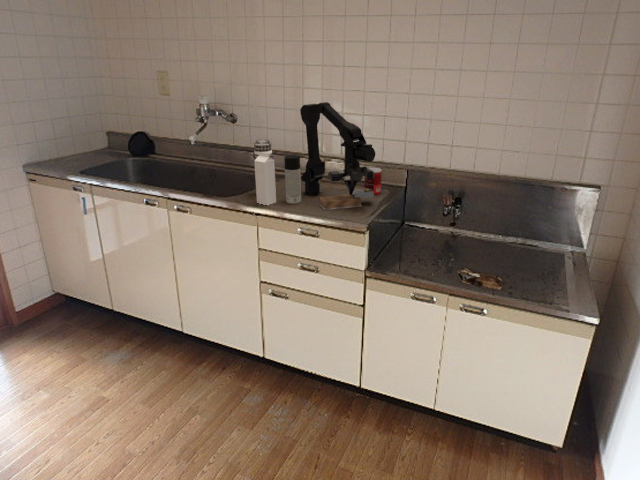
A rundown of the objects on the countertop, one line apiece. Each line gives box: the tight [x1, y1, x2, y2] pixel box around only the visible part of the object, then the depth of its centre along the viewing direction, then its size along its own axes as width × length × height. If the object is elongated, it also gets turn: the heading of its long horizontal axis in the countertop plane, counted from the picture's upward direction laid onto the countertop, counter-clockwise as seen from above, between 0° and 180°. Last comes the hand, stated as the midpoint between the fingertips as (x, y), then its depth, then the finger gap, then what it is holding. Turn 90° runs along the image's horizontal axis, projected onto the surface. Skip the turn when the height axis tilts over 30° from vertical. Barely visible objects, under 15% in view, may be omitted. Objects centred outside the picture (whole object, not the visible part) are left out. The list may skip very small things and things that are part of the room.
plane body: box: [318, 193, 363, 211], centre depth 196 cm, size 17×8×4 cm, turn 107°
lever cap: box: [352, 188, 375, 199], centre depth 197 cm, size 8×5×3 cm, turn 97°
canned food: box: [363, 167, 383, 196], centre depth 211 cm, size 8×8×11 cm
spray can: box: [284, 154, 302, 205], centre depth 199 cm, size 7×7×20 cm
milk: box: [253, 152, 277, 206], centre depth 197 cm, size 6×6×22 cm
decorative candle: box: [252, 138, 275, 183], centre depth 208 cm, size 9×9×25 cm
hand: (350, 194), depth 197 cm, fingers closed
